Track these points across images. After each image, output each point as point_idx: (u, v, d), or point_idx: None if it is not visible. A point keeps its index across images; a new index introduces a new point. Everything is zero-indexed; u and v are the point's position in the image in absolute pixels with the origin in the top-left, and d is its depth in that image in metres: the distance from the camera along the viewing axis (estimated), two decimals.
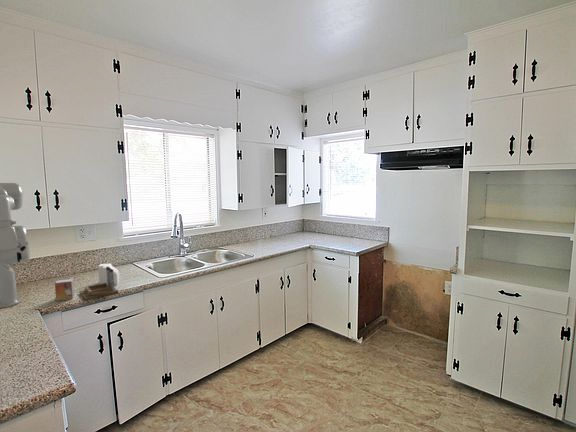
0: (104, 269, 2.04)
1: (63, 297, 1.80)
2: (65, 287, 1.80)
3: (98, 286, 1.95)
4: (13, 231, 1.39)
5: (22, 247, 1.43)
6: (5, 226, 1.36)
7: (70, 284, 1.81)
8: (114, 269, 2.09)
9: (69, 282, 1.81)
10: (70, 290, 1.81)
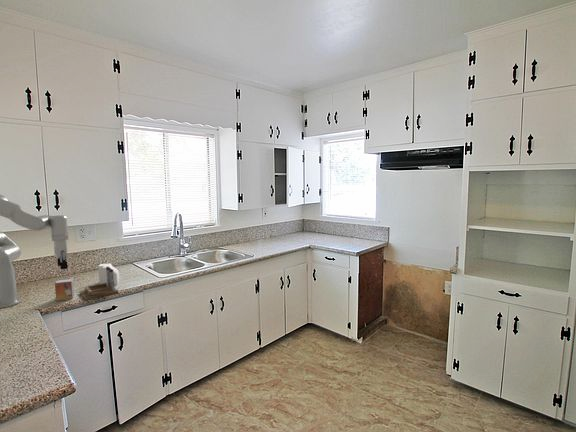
0: (104, 269, 2.04)
1: (63, 297, 1.80)
2: (65, 287, 1.80)
3: (98, 286, 1.95)
4: None
5: None
6: None
7: (70, 284, 1.81)
8: (114, 269, 2.09)
9: (69, 282, 1.81)
10: (70, 290, 1.81)
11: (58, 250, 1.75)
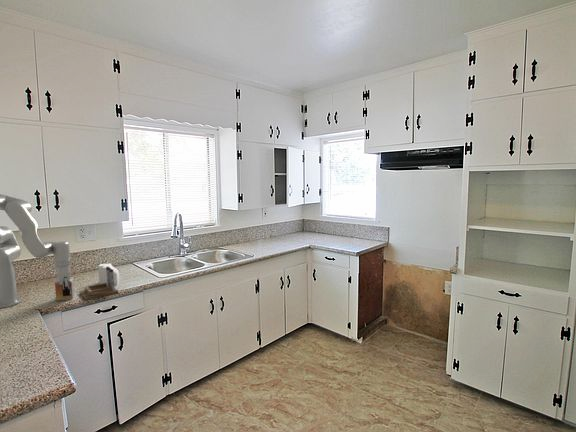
0: (104, 269, 2.04)
1: (63, 296, 1.80)
2: None
3: (98, 286, 1.95)
4: None
5: None
6: None
7: (70, 284, 1.81)
8: (114, 269, 2.09)
9: None
10: (70, 290, 1.81)
11: (61, 277, 1.77)
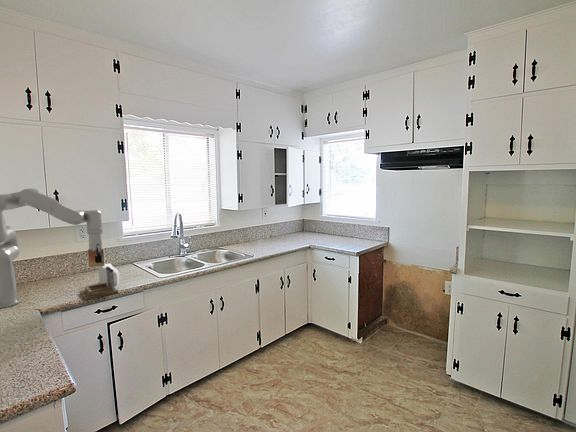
0: (104, 269, 2.04)
1: (95, 263, 1.87)
2: None
3: (98, 286, 1.95)
4: None
5: None
6: None
7: (102, 251, 1.87)
8: (114, 269, 2.09)
9: None
10: (102, 257, 1.88)
11: (94, 243, 1.83)
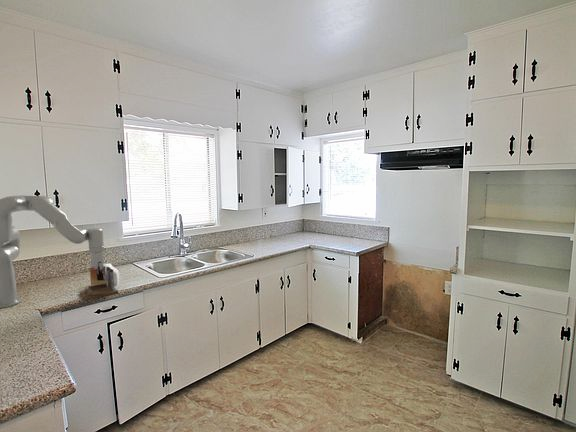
0: None
1: (97, 281, 1.88)
2: None
3: (98, 286, 1.95)
4: None
5: None
6: None
7: (104, 269, 1.89)
8: (114, 269, 2.09)
9: None
10: (104, 275, 1.89)
11: (95, 261, 1.84)
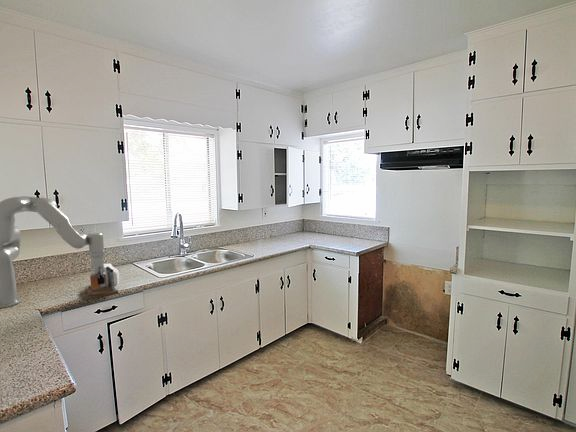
0: (104, 269, 2.04)
1: None
2: None
3: None
4: None
5: None
6: None
7: (104, 277, 1.89)
8: (114, 269, 2.09)
9: None
10: (104, 282, 1.90)
11: (96, 266, 1.85)
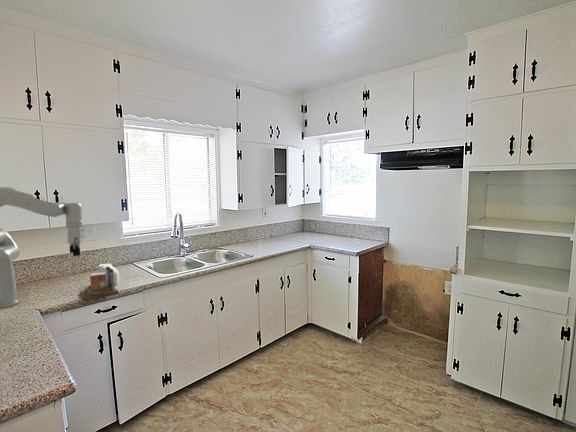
0: (104, 269, 2.04)
1: None
2: (100, 280, 1.88)
3: None
4: None
5: None
6: None
7: (104, 277, 1.89)
8: (114, 269, 2.09)
9: (103, 275, 1.89)
10: (104, 282, 1.90)
11: (72, 237, 1.78)
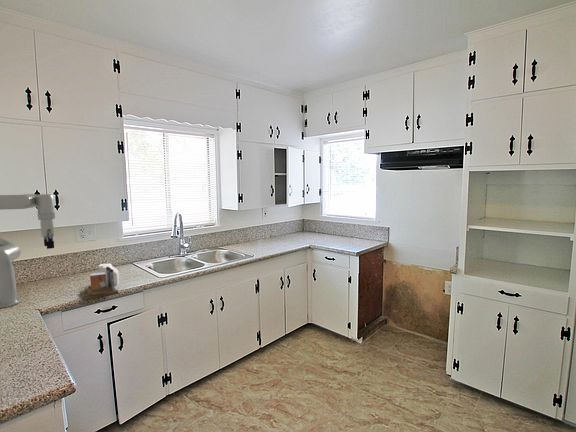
0: (104, 269, 2.04)
1: None
2: (100, 280, 1.88)
3: None
4: None
5: None
6: None
7: (104, 277, 1.89)
8: (114, 269, 2.09)
9: (103, 275, 1.89)
10: (104, 282, 1.90)
11: (44, 229, 1.72)
